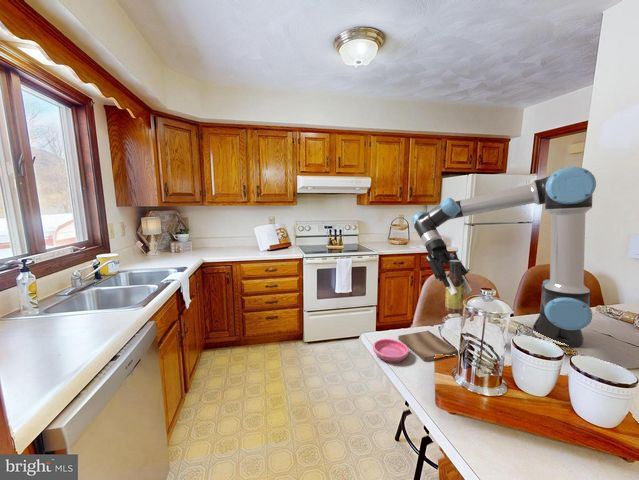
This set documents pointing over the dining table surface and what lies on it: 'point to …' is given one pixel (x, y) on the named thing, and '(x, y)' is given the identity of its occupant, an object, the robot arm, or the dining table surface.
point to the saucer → (390, 350)
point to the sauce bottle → (455, 301)
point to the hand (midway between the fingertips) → (461, 292)
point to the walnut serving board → (426, 345)
